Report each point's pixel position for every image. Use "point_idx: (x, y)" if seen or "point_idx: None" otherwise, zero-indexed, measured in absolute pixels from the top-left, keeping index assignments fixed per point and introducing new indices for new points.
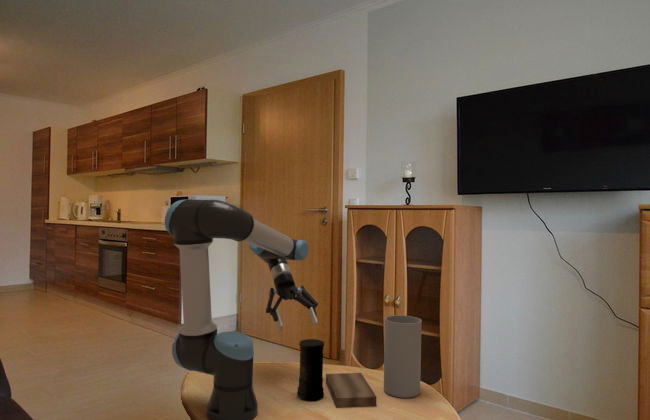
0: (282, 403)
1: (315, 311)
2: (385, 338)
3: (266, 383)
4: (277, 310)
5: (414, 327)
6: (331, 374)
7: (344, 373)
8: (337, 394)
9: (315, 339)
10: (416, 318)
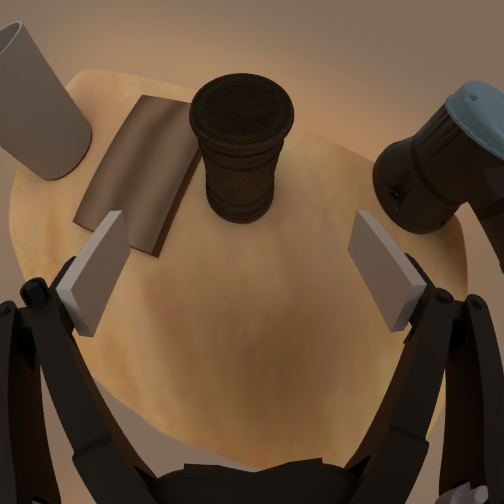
0: (317, 183)
1: (59, 275)
2: (28, 83)
3: (313, 318)
4: (417, 285)
5: (9, 32)
6: (140, 242)
7: None
8: None
9: (204, 133)
10: None
